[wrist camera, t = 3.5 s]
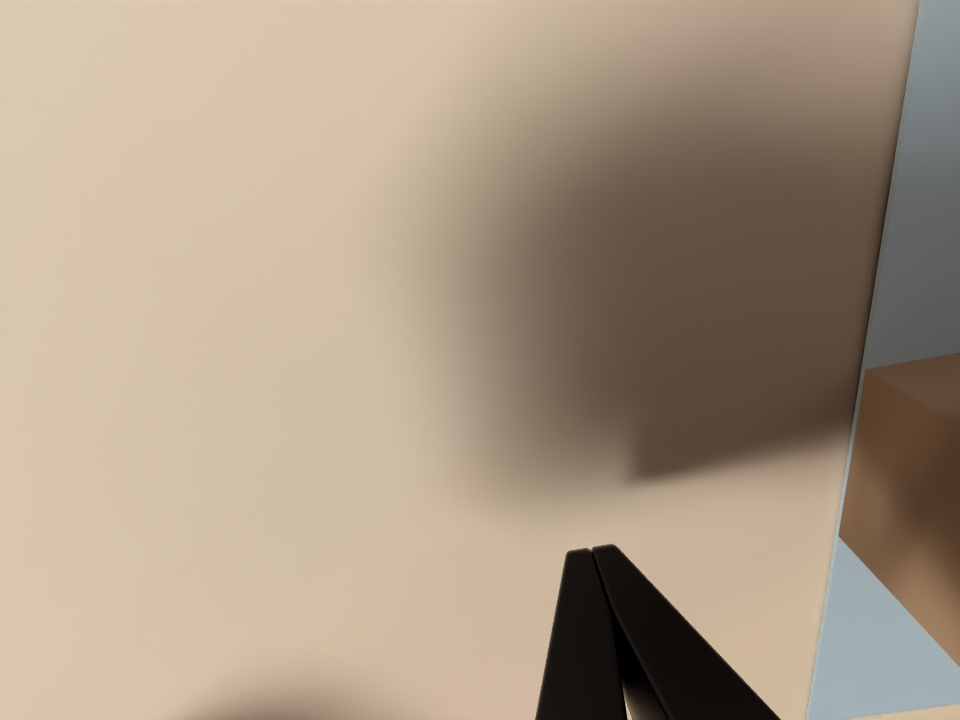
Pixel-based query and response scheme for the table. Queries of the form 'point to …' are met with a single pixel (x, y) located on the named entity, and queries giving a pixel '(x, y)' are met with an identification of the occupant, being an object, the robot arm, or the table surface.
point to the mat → (891, 340)
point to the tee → (910, 490)
